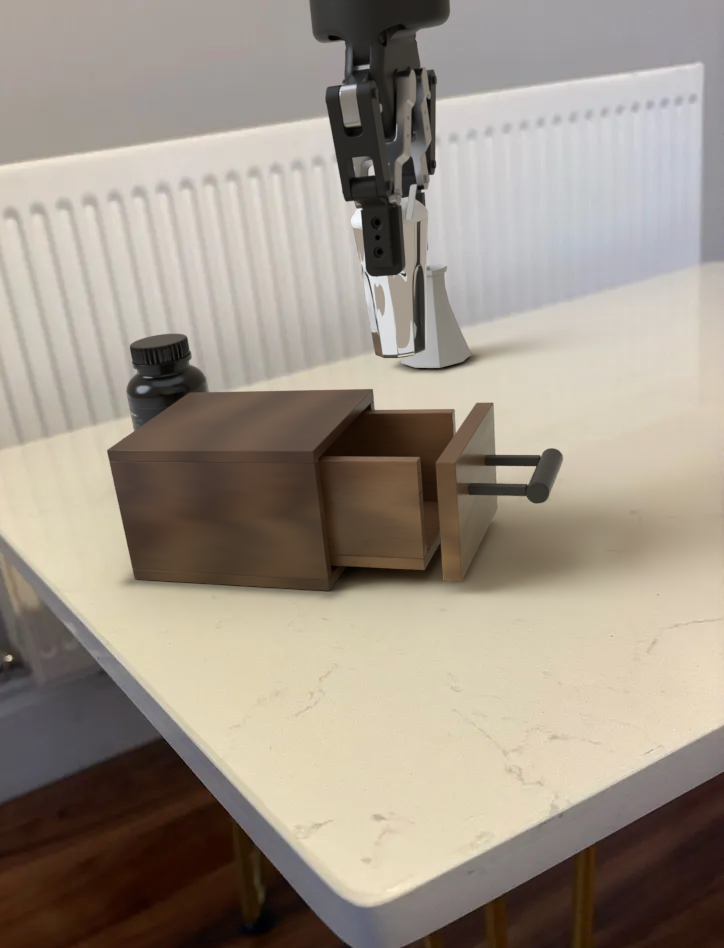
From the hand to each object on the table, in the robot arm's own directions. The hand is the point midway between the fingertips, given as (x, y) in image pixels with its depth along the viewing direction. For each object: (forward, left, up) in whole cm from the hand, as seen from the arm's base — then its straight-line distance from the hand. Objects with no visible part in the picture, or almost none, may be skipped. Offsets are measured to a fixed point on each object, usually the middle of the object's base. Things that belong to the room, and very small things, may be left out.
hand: (398, 264), depth 62 cm
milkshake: (0, 0, -6) cm, 6 cm away
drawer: (0, 0, -18) cm, 18 cm away
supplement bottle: (+24, -13, -19) cm, 33 cm away
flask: (+10, -48, -19) cm, 52 cm away
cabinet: (+11, 0, -19) cm, 22 cm away
